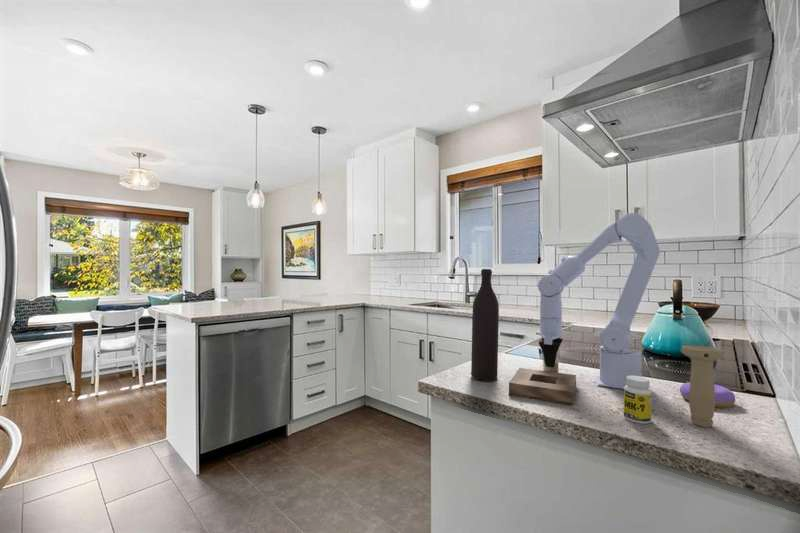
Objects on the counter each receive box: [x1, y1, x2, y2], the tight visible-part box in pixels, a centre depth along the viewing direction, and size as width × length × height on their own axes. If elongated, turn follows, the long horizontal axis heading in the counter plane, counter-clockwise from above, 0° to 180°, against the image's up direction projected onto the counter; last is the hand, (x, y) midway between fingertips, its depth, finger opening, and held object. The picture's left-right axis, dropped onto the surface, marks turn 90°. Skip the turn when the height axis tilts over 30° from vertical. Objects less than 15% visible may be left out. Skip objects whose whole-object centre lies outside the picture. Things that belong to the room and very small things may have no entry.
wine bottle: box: [470, 268, 500, 382], centre depth 103 cm, size 7×7×30 cm
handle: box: [681, 345, 725, 428], centre depth 74 cm, size 5×6×15 cm
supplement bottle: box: [622, 376, 653, 425], centre depth 76 cm, size 5×5×8 cm
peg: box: [542, 350, 559, 373], centre depth 107 cm, size 4×4×6 cm
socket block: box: [508, 367, 577, 406], centre depth 93 cm, size 14×14×3 cm
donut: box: [679, 381, 736, 408], centre depth 86 cm, size 10×9×5 cm
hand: (550, 364), depth 107 cm, fingers closed on peg, 4 cm apart
